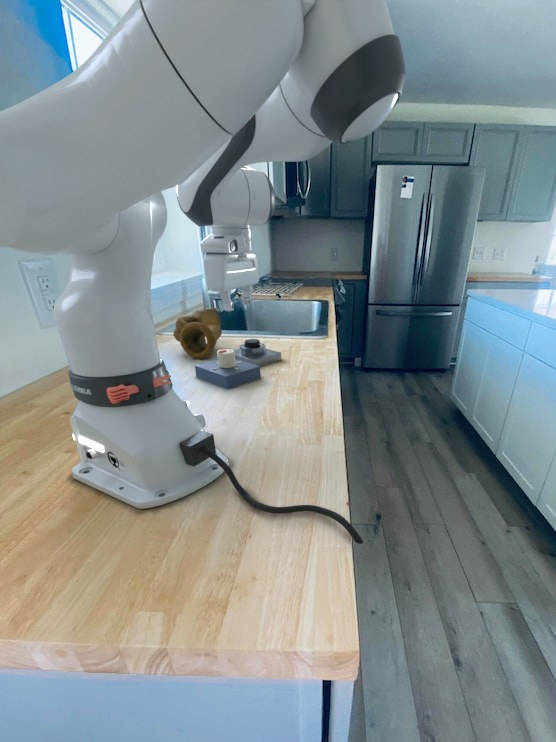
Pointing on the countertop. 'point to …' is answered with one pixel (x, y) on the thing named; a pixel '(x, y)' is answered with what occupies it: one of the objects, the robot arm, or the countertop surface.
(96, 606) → the countertop surface
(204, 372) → the panel
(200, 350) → the brown looped sculpture
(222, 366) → the knob
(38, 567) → the countertop surface
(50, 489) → the countertop surface
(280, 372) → the countertop surface
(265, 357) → the housing
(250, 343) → the button
